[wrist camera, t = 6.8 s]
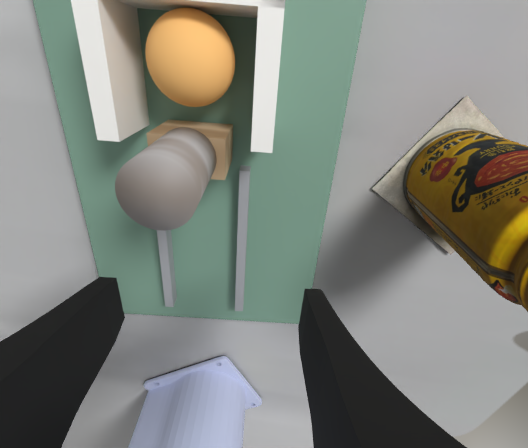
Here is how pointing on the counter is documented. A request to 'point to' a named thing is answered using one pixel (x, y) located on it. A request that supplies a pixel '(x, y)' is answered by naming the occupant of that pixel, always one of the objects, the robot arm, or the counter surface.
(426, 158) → the condiment
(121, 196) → the grey and tan mallet
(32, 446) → the robot arm
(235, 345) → the counter surface
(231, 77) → the ball
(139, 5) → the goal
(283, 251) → the pitch
